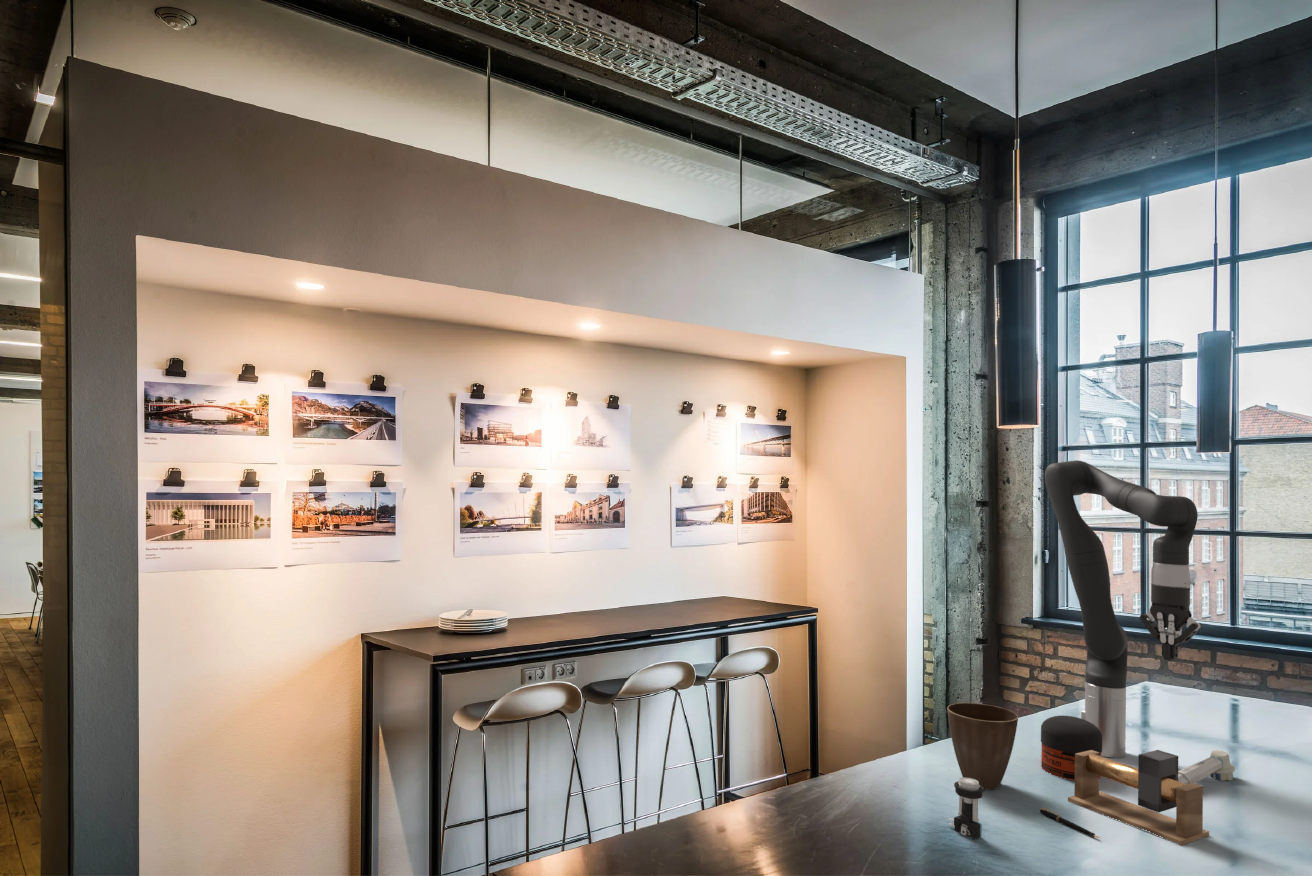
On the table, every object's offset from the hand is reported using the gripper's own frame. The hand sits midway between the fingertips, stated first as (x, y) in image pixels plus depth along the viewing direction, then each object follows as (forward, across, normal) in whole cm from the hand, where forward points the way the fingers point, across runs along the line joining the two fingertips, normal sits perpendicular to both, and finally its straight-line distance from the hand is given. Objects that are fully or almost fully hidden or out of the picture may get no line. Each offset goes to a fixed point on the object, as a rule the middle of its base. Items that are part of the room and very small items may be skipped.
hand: (1169, 660), depth 184 cm
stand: (+29, +6, -23) cm, 37 cm away
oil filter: (+29, -17, -10) cm, 35 cm away
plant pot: (+29, -21, -37) cm, 52 cm away
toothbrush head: (+30, +1, +11) cm, 32 cm away
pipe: (+23, +5, -23) cm, 33 cm away
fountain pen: (+29, +2, -40) cm, 50 cm away
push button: (+29, -5, -62) cm, 69 cm away
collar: (+25, +10, -23) cm, 35 cm away
